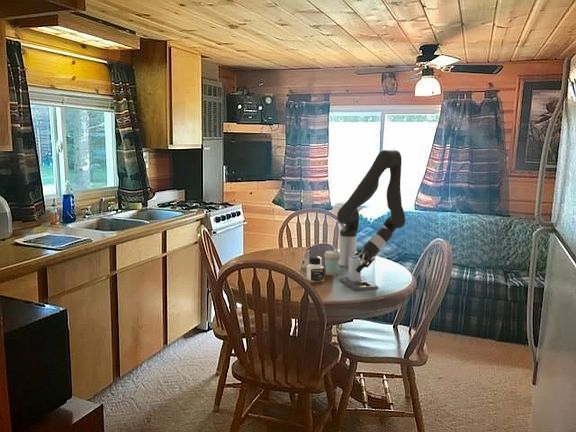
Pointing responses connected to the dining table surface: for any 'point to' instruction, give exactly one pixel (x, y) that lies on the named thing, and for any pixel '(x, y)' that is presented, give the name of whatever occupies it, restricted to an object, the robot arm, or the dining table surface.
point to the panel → (359, 284)
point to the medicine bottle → (315, 269)
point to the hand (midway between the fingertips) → (353, 269)
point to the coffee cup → (332, 262)
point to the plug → (354, 269)
